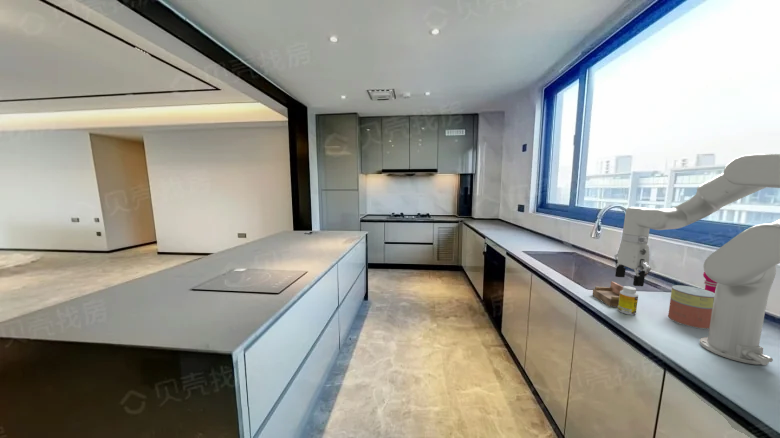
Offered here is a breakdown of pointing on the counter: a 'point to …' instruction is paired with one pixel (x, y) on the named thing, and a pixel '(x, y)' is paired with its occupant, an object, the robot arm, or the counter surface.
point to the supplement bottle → (628, 300)
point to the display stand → (608, 294)
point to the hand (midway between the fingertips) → (628, 281)
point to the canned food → (691, 306)
